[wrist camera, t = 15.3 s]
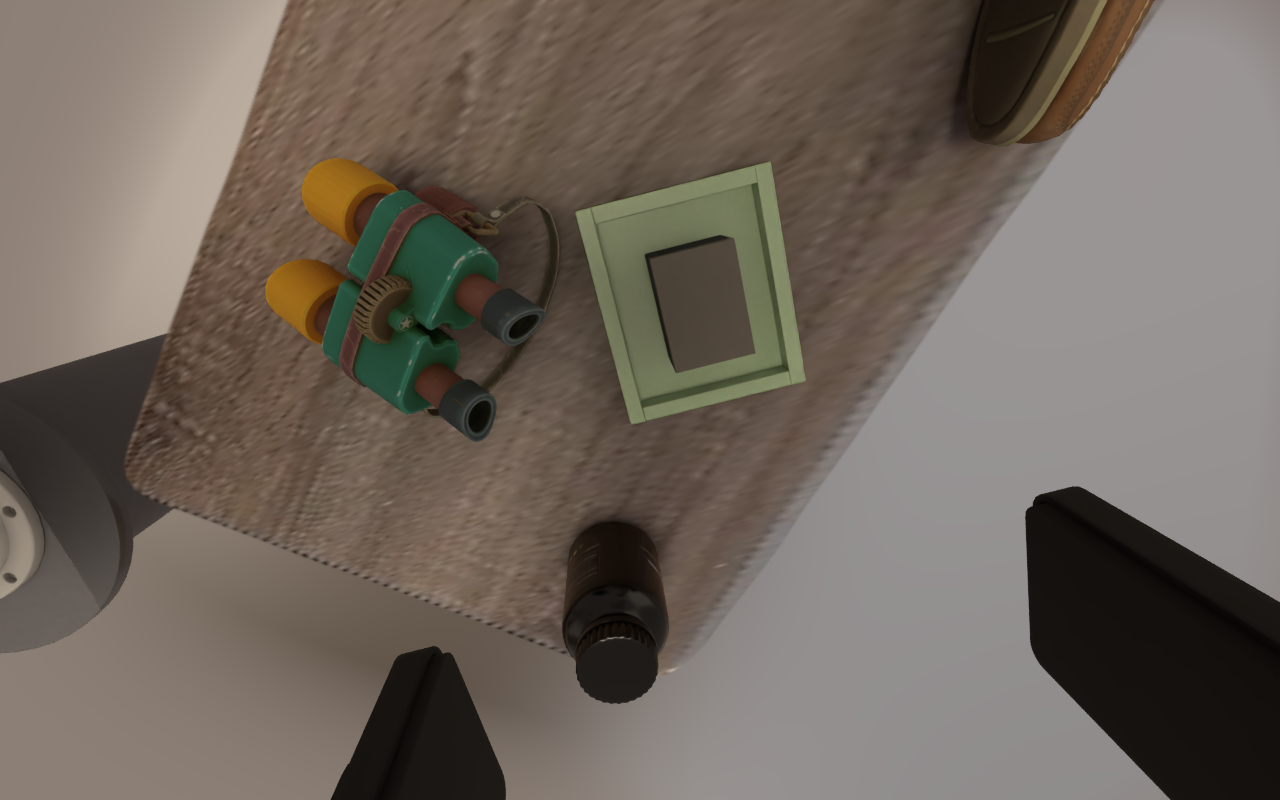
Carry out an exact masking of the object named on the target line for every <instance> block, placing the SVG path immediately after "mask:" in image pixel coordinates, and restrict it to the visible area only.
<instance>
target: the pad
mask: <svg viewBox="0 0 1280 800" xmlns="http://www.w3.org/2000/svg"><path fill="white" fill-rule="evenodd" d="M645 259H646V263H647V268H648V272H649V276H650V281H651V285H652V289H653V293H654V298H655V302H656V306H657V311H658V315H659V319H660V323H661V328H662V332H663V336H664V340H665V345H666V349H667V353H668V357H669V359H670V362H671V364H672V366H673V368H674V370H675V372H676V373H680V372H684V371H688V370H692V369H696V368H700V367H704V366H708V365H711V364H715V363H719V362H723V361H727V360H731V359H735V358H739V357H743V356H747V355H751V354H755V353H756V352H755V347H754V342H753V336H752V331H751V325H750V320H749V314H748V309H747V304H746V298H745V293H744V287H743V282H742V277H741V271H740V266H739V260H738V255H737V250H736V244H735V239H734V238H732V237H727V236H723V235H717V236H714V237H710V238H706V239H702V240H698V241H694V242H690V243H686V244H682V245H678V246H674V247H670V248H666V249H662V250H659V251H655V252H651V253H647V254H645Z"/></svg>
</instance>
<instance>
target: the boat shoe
mask: <svg viewBox="0 0 1280 800" xmlns="http://www.w3.org/2000/svg"><path fill="white" fill-rule="evenodd" d="M1153 2H1154V0H985V2H984V5H983V9H982V12H981V16H980V20H979V23H978V28H977V32H976V37H975V42H974V47H973V52H972V57H971V63H970V69H969V77H968V85H967V97H966V119H967V126H968V130H969V133H970V135H971V136H972V137H973V139H975V140H976V141H978V142H982V143H987V144H992V145H996V146H1006V145H1010V144H1012V143H1022V144H1030V143H1037V142H1042V141H1045V140H1048V139H1051V138H1054V137H1057V136H1060V135H1061V134H1062V133H1064V132H1065V131H1067V130H1069V129H1071V128H1072V127H1073V126H1074V125H1075V123H1076V122H1077V121H1078V120H1080V119H1081V118H1082V117H1083V116H1084V115H1085V113H1086V112H1087V111H1088V110H1089V109H1090V107H1091V105H1092V104H1093V102H1094V101H1095V100H1096V99H1097V98H1098V97H1099V96H1100V94H1101V92H1102V90H1103V88H1104V87H1105V85H1106V84H1107V83H1108V81H1109V79H1110V77H1111V76H1112V74H1113V72H1114V71H1115V69H1116V67H1117V65H1118V64H1119V62H1120V60H1121V59H1122V57H1123V56H1124V54H1125V52H1126V50H1127V48H1128V47H1129V45H1130V44H1131V42H1132V40H1133V37H1134V35H1135V33H1136V32H1137V30H1138V29H1139V27H1140V25H1141V23H1142V21H1143V19H1144V18H1145V16H1146V15H1147V13H1148V11H1149V9H1150V7H1151V6H1152V4H1153Z"/></svg>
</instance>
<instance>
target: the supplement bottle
mask: <svg viewBox="0 0 1280 800" xmlns="http://www.w3.org/2000/svg"><path fill="white" fill-rule="evenodd" d="M668 631H669V621H668V613H667V607H666V601H665V595H664V589H663V583H662V577H661V571H660V565H659V560H658V555H657V551H656V548H655V546H654V544H653V542H652V541H651V539H650V538H649V537H648V536H647V535H646V534H645V533H644V532H643V531H642V530H640V529H639V528H637V527H635V526H633V525H630V524H626V523H621V522H607V523H602V524H599V525H596V526H594V527H592V528H590V529H588V530H587V531H585V532H584V533H583V534H582V535H581V536H580V537H579V538H578V539H577V540H576V542H575V543H574V545H573V547H572V549H571V552H570V555H569V561H568V570H567V580H566V591H565V601H564V612H563V622H562V633H563V639H564V643H565V645H566V648H567V649H568V651H569V653H570V654H571V656H572V657H573V658H574V659H575V661H576V674H577V680H578V681H579V682H580V686H581V687H582V688H583V689H584V692H586V693H588V694H589V696H590V697H593V698H595V699H596V700H600V701H602V702H604V703H606V702H608V703H610V704H613V703H617V704H620V703H627V702H629V701H632V700H635V699H636V698H638V697H641V696H642V695H643V694H644V693H646V692H647V691H648V689H650V688H651V687H652V685H653V683H654V682H655V680H656V676H657V674H658V658H657V656H658V655H659V654H660V652H661V651H662V649H663V647H664V645H665V643H666V640H667V637H668Z"/></svg>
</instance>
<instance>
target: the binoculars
mask: <svg viewBox="0 0 1280 800" xmlns="http://www.w3.org/2000/svg"><path fill="white" fill-rule="evenodd" d="M302 198H303V202H304V205H305V207H306V209H307V211H308V212H309V213H310V215H311V216H312V217H313V218H314V219H315V220H316V221H318V222H319V223H320V224H322V225H323V226H325V227H326V228H328V229H329V230H331V231H332V232H333V233H335V234H336V235H338V236H339V237H341V238H342V239H343V240H345V241H346V242H348V243H349V244H351V245H352V246H354V247H355V250H354V252H353V255H352V257H351V259H350V261H349V264H348V270H349V272H350V273H351V274H353V275H354V276H355V277H357V278H358V279H360V280H361V281H362V282H364V283H363V287H362V286H360V285H359V284H357V283H356V282H355V281H353V280H349V279H348V278H346V277H345V276H343V275H342V274H341V273H339V272H338V271H337V270H335V269H334V268H332V267H331V266H329V265H327V264H326V263H323V262H320V261H317V260H311V259H301V260H295V261H291V262H288V263H286V264H284V265H282V266H280V267H279V268H278V269H276V270H275V271H274V272H273V273H272V275H271V276H270V277H269V279H268V281H267V284H266V289H265V292H266V298H267V302H268V304H269V305H270V307H271V308H272V309H273V310H274V311H275V313H277V314H278V315H279V316H280V317H282V318H283V319H284V320H285V321H287V322H288V323H289V324H290V325H292V326H293V327H294V328H295V329H297V330H298V331H299V332H300V333H302V334H303V335H304V336H305V337H307V338H308V339H309V340H311V341H312V342H314V343H317V344H322V349H323V352H324V354H325V355H326V356H327V358H328V359H329V360H330V361H331V362H333V363H334V364H336V365H337V366H338V367H340V368H341V369H342V370H343V371H344V373H345V374H346V375H347V376H348V377H350V378H351V379H352V380H354V381H355V382H357V383H358V384H360V385H362V386H364V387H368V388H369V389H371V390H372V391H373V392H375V393H376V394H378V395H379V396H380V397H382V398H383V399H385V400H386V401H387V402H389V403H390V404H392V405H393V406H394V407H396V408H397V409H399V410H400V411H401V412H403V413H405V414H407V415H408V414H414V413H416V412H418V411H421V410H422V411H424V412H425V413H426V414H427V415H429V416H430V417H433V418H443V419H445V420H446V421H447V422H449V423H450V424H451V425H452V426H454V427H455V428H456V429H458V430H459V431H460V432H461V433H463V434H464V435H465V436H467V437H468V438H469V439H470V440H472V441H474V442H479V441H482V440H483V439H485V437H486V436H487V435H488V434H489V432H490V430H491V428H492V425H493V423H494V419H495V415H496V407H497V405H496V399H495V397H494V396H493V395H491V394H490V393H489V392H490V391H491V390H492V389H493V388H494V387H495V386H496V385H497V384H498V383H499V382H500V381H501V380H502V379H503V378H504V377H505V376H506V375H507V374H508V373H509V371H510V370H511V369H512V367H513V366H514V365H515V363H516V362H517V361H518V359H519V358H520V356H521V355H522V353H523V352H524V350H525V348H526V347H527V345H528V344H529V342H530V340H531V338H532V337H533V335H534V333H535V331H536V330H537V329H538V327H539V326H540V325H541V324H542V323H543V321H544V320H545V318H546V315H547V313H546V311H545V310H546V307H547V305H548V302H549V299H550V297H551V294H552V291H553V288H554V285H555V281H556V277H557V273H558V267H559V249H560V248H559V237H558V232H557V228H556V225H555V222H554V219H553V216H552V214H551V212H550V211H549V210H548V209H547V208H546V207H544V206H543V205H541V204H540V203H538V202H536V201H534V200H532V199H531V198H529V197H527V196H524V195H516V196H513V197H511V198H510V199H508V200H506V201H505V202H504V203H502V204H501V205H499V206H498V207H497V208H496V207H494V208H493V209H492V210H491V211H490V212H488V213H487V214H481V213H479V212H478V210H477V209H476V207H475V206H473V205H472V204H470V203H468V202H467V201H465V200H463V199H462V198H460V197H458V196H456V195H455V194H453V193H451V192H450V191H448V190H446V189H444V188H443V187H438V186H431V187H427V188H424V189H422V190H421V191H419V192H417V193H416V194H415V195H414V194H412V193H411V192H409V191H407V190H400V191H399V190H398V188H396V187H395V186H394V185H393V184H391V183H390V182H388V181H386V180H385V179H383V178H382V177H380V176H378V175H377V174H375V173H374V172H372V171H370V170H369V169H367V168H366V167H364V166H362V165H360V164H359V163H357V162H354V161H351V160H347V159H330V160H325V161H323V162H321V163H319V164H317V165H316V166H314V167H313V168H312V169H311V170H310V171H309V172H308V173H307V175H306V177H305V179H304V181H303V185H302ZM527 203H533V204H536V205H537V206H538V208H539V209H540V211H541V213H542V215H543V218H544V221H545V225H546V228H547V232H548V248H549V252H548V264H547V269H546V273H545V278H544V281H543V284H542V288H541V290H540V293H539V296H538V299H537V301H536V304H534V303H532V302H531V301H529V300H528V299H526V298H525V297H523V296H521V295H520V294H518V293H517V292H515V291H514V290H512V289H509V288H505V289H503V288H502V287H500V286H499V285H497V284H496V283H495V282H496V280H497V276H498V262H497V261H496V260H495V258H494V257H493V256H492V255H491V254H490V252H489V251H488V250H487V249H486V248H484V247H483V246H482V245H480V244H479V243H478V240H479V236H480V235H496V234H498V233H499V231H498V229H497V228H496V227H495V226H496V225H498V224H499V223H500V222H501V221H502V220H504V219H505V218H506V217H507V216H508V215H510V214H511V213H512V212H514V211H515V210H516V209H518V208H519V207H521V206H522V205H524V204H527ZM481 228H482V229H481ZM476 319H477V320H479V321H480V322H481V325H482V327H483V328H484V329H485V330H486V331H488V332H489V333H491V334H492V335H494V336H495V337H496V338H498V339H499V340H501V341H502V342H504V343H505V344H507V345H509V346H513V347H512V349H511V350H510V352H509V353H508V355H507V356H506V357H505V359H504V360H503V362H502V363H501V364H500V365H499V367H498V368H497V369H496V370H495V371H494V372H493V373H492V374H491V375H490V376H489V377H488V378H487V379H486V380H485V381H484V382H483V383H481V384H480V385H478V384H476V383H475V382H474V381H472V380H468V379H466V380H464V379H463V378H462V377H460V376H459V375H457V374H456V373H455V372H454V369H455V367H456V365H457V362H458V360H459V357H460V351H459V347H458V344H457V341H455V340H454V339H453V338H451V337H450V336H449V335H447V334H446V333H445V332H443V331H442V330H441V329H439V328H440V326H441V324H442V323H444V324H446V325H447V326H448V327H450V328H451V329H455V330H462V329H464V328H465V327H467V326H468V325H469V324H471V323H472V322H473V321H475V320H476ZM432 405H433V406H435V407H436V408H437V409H427V407H430V406H432Z"/></svg>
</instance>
